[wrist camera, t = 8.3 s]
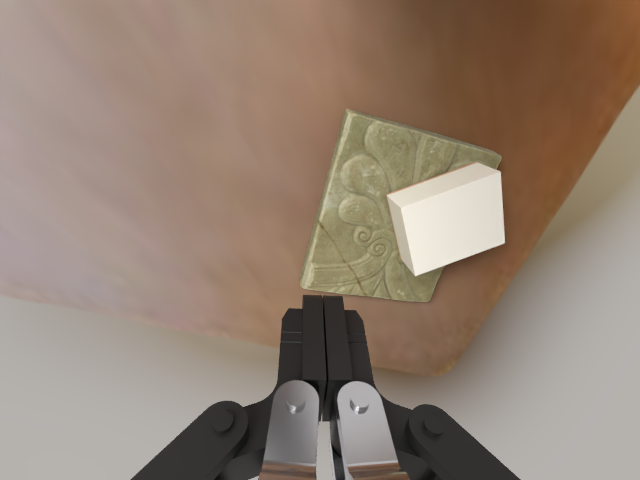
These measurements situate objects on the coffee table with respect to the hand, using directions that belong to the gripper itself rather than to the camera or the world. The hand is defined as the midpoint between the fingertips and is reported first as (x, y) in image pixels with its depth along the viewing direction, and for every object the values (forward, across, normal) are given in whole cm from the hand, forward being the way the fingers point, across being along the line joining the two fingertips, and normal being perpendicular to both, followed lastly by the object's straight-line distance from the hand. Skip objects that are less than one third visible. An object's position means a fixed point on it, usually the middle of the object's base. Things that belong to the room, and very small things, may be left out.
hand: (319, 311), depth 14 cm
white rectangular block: (+20, -10, +10) cm, 24 cm away
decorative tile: (+26, -10, +10) cm, 30 cm away
